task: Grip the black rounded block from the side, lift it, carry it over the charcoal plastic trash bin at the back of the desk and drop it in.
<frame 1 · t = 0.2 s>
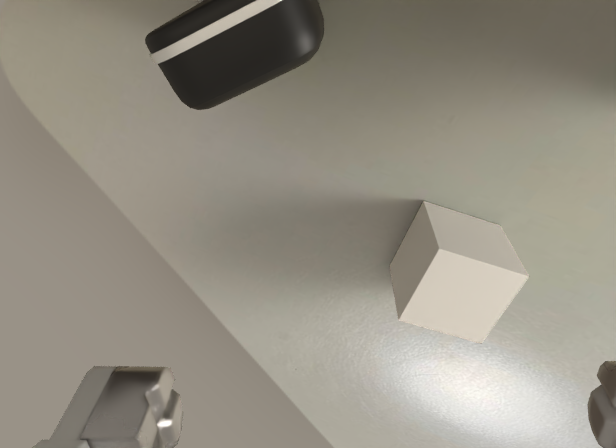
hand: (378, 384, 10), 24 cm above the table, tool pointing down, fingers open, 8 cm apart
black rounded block: (265, 9, 29), on the table
white cube: (442, 245, 36), on the table
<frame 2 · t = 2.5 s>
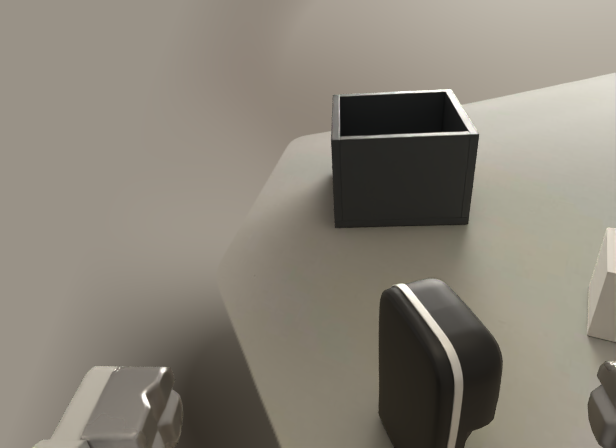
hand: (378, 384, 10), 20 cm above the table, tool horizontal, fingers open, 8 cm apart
trash bin: (394, 194, 57), on the table
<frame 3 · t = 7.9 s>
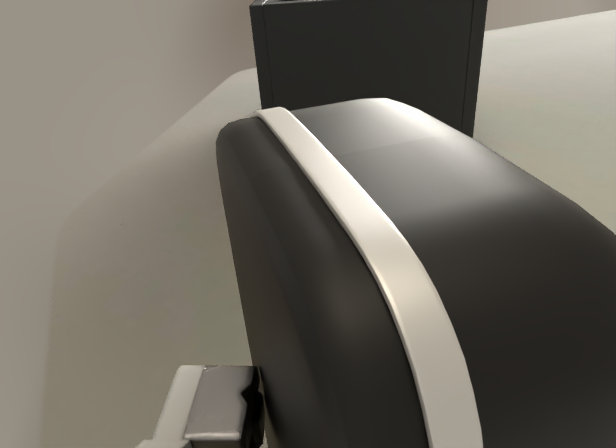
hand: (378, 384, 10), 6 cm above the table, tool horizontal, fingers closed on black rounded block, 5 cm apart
trash bin: (363, 120, 39), on the table
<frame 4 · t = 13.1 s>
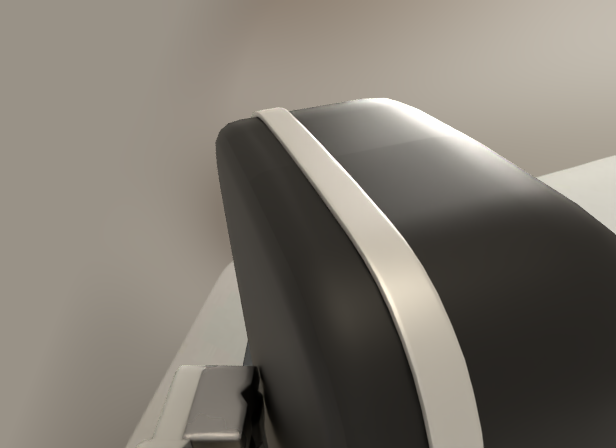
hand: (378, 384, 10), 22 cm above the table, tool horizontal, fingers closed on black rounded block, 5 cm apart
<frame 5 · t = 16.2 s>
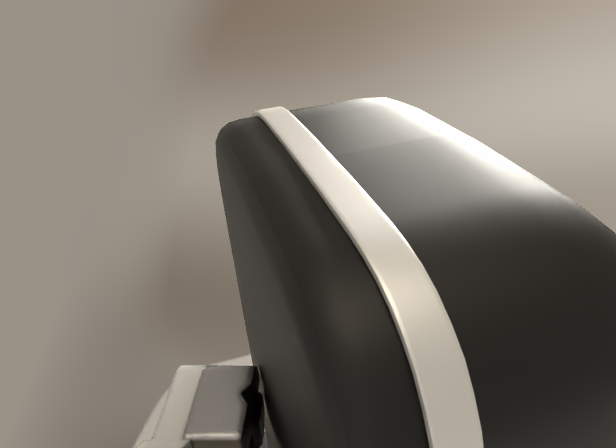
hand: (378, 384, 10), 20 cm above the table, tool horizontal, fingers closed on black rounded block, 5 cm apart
when the fingers open (13 cm above the table, at t = 18.6 s): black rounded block drops 6 cm, resting on trash bin.
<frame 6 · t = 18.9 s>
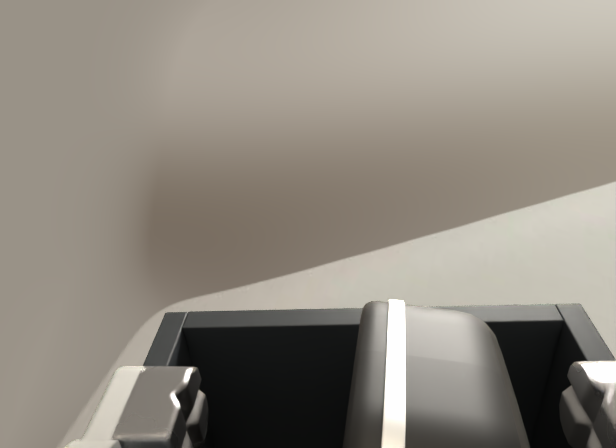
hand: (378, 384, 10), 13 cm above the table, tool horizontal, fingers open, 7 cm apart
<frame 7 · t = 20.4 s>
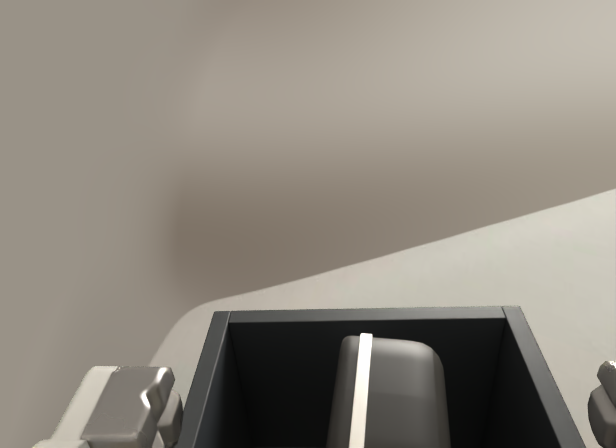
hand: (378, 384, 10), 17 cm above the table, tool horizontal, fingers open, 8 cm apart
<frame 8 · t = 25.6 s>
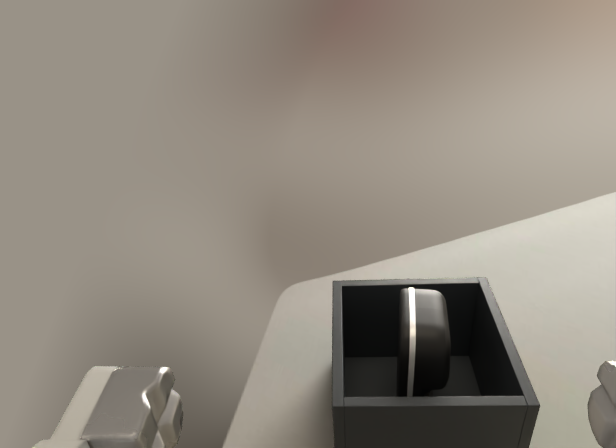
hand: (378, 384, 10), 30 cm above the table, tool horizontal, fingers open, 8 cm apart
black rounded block: (418, 408, 43), point 1 cm above the table, touching trash bin
trash bin: (414, 414, 44), on the table
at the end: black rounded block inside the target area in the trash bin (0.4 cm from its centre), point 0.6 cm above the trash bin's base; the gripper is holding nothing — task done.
